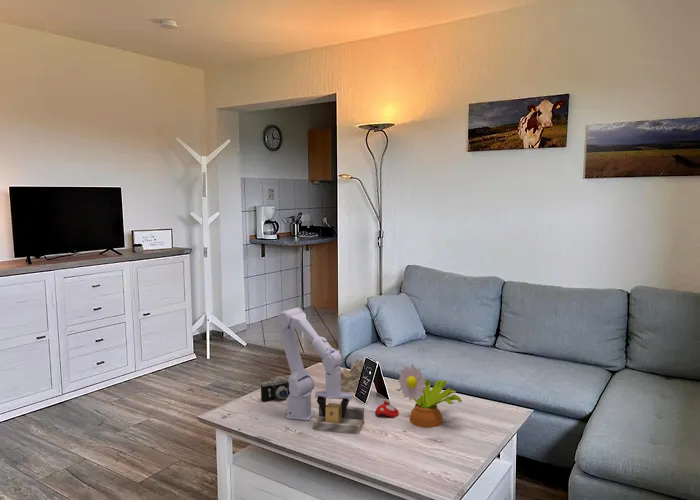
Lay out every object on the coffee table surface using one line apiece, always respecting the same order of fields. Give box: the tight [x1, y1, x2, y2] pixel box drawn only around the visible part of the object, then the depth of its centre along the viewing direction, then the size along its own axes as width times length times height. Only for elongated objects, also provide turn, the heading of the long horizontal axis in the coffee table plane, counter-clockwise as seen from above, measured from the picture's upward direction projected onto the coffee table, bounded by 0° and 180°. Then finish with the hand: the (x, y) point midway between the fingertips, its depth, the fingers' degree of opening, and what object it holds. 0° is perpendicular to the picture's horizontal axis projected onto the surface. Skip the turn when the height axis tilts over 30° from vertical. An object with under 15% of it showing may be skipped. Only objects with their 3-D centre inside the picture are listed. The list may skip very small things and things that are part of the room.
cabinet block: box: [325, 402, 342, 423], centre depth 200 cm, size 5×6×6 cm
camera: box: [260, 374, 291, 403], centre depth 228 cm, size 15×7×10 cm, turn 122°
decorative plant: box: [395, 363, 463, 428], centre depth 204 cm, size 27×24×25 cm
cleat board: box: [312, 404, 365, 435], centre depth 201 cm, size 18×10×6 cm, turn 76°
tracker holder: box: [374, 399, 400, 418], centre depth 213 cm, size 12×4×10 cm
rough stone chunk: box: [340, 358, 365, 393], centre depth 243 cm, size 16×16×15 cm
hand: (333, 416), depth 201 cm, fingers open, 7 cm apart
